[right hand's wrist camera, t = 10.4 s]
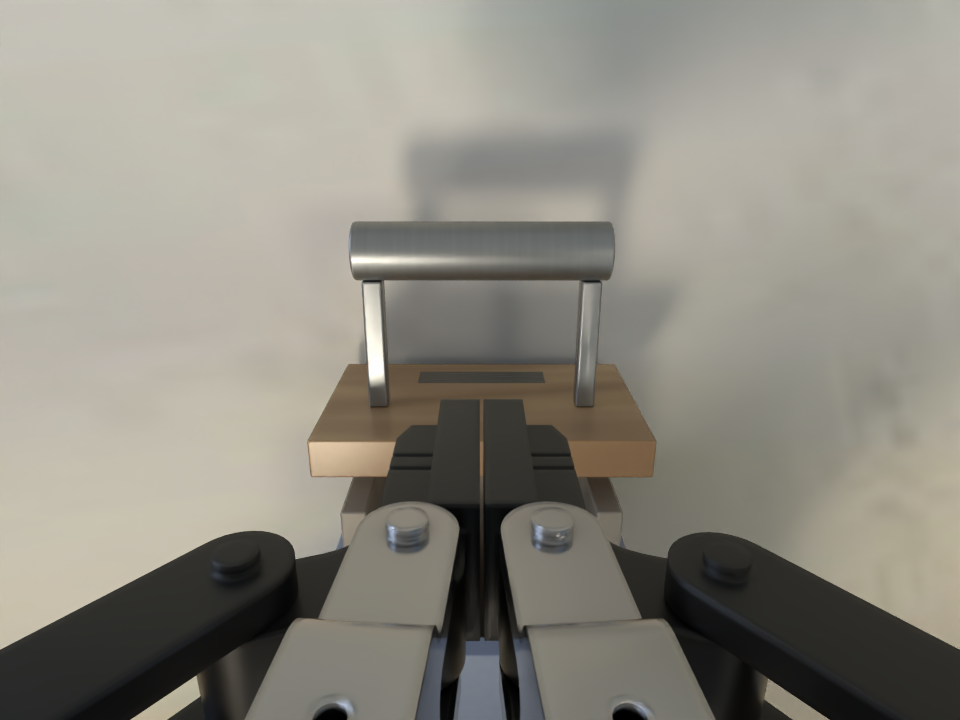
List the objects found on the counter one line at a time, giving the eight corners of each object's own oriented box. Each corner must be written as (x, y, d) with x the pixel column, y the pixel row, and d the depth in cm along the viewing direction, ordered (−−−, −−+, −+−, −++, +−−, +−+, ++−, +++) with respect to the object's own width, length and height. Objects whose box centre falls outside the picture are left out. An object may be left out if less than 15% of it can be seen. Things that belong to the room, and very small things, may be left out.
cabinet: (349, 509, 28) (300, 656, 20) (613, 509, 28) (663, 655, 20) (367, 747, 32) (333, 938, 25) (593, 747, 32) (628, 938, 25)
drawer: (336, 205, 22) (286, 236, 17) (627, 205, 22) (678, 237, 17) (367, 631, 29) (339, 762, 23) (594, 631, 29) (623, 762, 23)
